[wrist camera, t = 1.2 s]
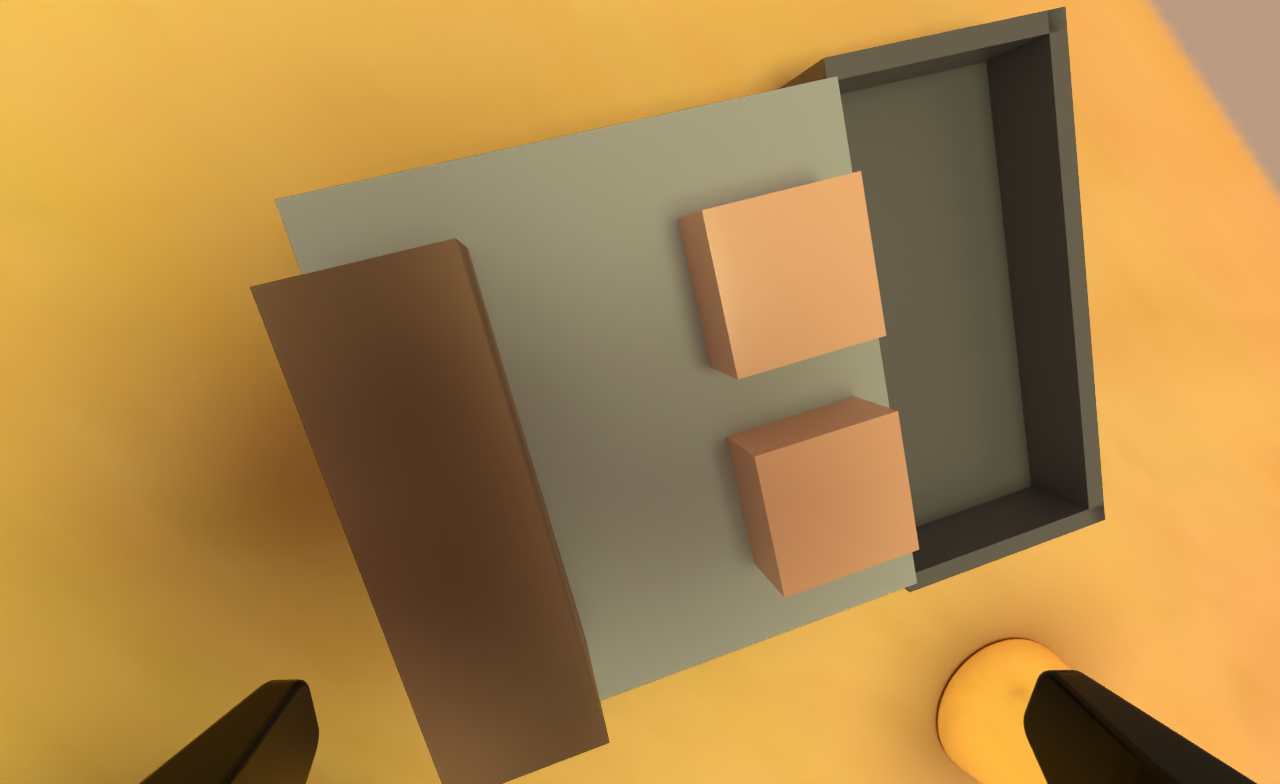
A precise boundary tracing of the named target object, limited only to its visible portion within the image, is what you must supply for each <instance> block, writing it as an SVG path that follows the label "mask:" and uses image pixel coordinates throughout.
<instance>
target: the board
mask: <svg viewBox="0 0 1280 784" xmlns="http://www.w3.org/2000/svg"><path fill="white" fill-rule="evenodd" d="M850 173H853V172H852V166H851V160H850V153H849V147H848V140H847V134H846V128H845V121H844V115H843V109H842V102H841V96H840V90H839V83H838V77H837V76H836V77H832V78H827V79H822V80H818V81H813V82H809V83H804V84H800V85H795V86H790V87H786V88H781V89H777V90H772V91H768V92H763V93H759V94H754V95H749V96H745V97H740V98H736V99H731V100H727V101H722V102H717V103H713V104H708V105H704V106H699V107H695V108H690V109H685V110H681V111H676V112H672V113H667V114H663V115H658V116H653V117H649V118H644V119H640V120H635V121H631V122H626V123H622V124H617V125H612V126H608V127H603V128H599V129H594V130H590V131H585V132H580V133H576V134H571V135H567V136H562V137H558V138H553V139H548V140H544V141H539V142H535V143H530V144H526V145H521V146H516V147H512V148H507V149H503V150H498V151H494V152H489V153H485V154H480V155H475V156H471V157H466V158H462V159H457V160H453V161H448V162H443V163H439V164H434V165H430V166H425V167H421V168H416V169H411V170H407V171H402V172H398V173H393V174H389V175H384V176H379V177H375V178H370V179H366V180H361V181H357V182H352V183H348V184H343V185H338V186H334V187H329V188H325V189H320V190H316V191H311V192H306V193H302V194H297V195H293V196H288V197H284V198H279V199H275V202H276V205H277V207H278V210H279V213H280V216H281V218H282V221H283V224H284V227H285V229H286V232H287V235H288V238H289V240H290V243H291V246H292V249H293V251H294V254H295V257H296V259H297V262H298V265H299V268H300V270H301V273H302V275H303V274H307V273H311V272H315V271H320V270H324V269H328V268H332V267H336V266H340V265H345V264H349V263H353V262H357V261H361V260H366V259H370V258H374V257H378V256H382V255H387V254H391V253H395V252H399V251H403V250H407V249H412V248H416V247H420V246H424V245H428V244H433V243H437V242H441V241H445V240H449V239H453V238H456V239H457V240H458V241H460V242H461V243H462V244H463V245H465V246H466V247H467V248H468V250H469V253H470V257H471V260H472V263H473V267H474V270H475V273H476V277H477V280H478V283H479V287H480V290H481V293H482V297H483V300H484V303H485V306H486V310H487V313H488V316H489V320H490V323H491V326H492V330H493V333H494V336H495V340H496V343H497V346H498V350H499V353H500V356H501V359H502V363H503V366H504V369H505V373H506V376H507V379H508V383H509V386H510V389H511V393H512V396H513V399H514V403H515V406H516V409H517V412H518V416H519V419H520V422H521V426H522V429H523V432H524V436H525V439H526V442H527V446H528V449H529V452H530V456H531V459H532V462H533V466H534V469H535V472H536V475H537V479H538V482H539V485H540V489H541V492H542V495H543V499H544V502H545V505H546V509H547V512H548V515H549V519H550V522H551V525H552V528H553V532H554V535H555V538H556V542H557V545H558V548H559V552H560V555H561V558H562V562H563V565H564V568H565V572H566V575H567V578H568V581H569V585H570V588H571V591H572V595H573V598H574V601H575V605H576V608H577V611H578V615H579V618H580V621H581V625H582V628H583V631H584V635H585V638H586V642H587V646H588V650H589V655H590V659H591V664H592V668H593V672H594V677H595V681H596V686H597V690H598V694H599V699H600V701H601V700H604V699H606V698H609V697H612V696H614V695H617V694H620V693H623V692H625V691H628V690H631V689H633V688H636V687H639V686H641V685H644V684H647V683H650V682H652V681H655V680H658V679H660V678H663V677H666V676H668V675H671V674H674V673H676V672H679V671H682V670H685V669H687V668H690V667H693V666H695V665H698V664H701V663H703V662H706V661H709V660H712V659H714V658H717V657H720V656H722V655H725V654H728V653H730V652H733V651H736V650H739V649H741V648H744V647H747V646H749V645H752V644H755V643H757V642H760V641H763V640H766V639H768V638H771V637H774V636H776V635H779V634H782V633H784V632H787V631H790V630H793V629H795V628H798V627H801V626H803V625H806V624H809V623H811V622H814V621H817V620H820V619H822V618H825V617H828V616H830V615H833V614H836V613H838V612H841V611H844V610H847V609H849V608H852V607H855V606H857V605H860V604H863V603H865V602H868V601H871V600H874V599H876V598H879V597H882V596H884V595H887V594H890V593H892V592H895V591H898V590H901V589H903V588H906V587H909V586H911V585H914V584H917V579H916V573H915V567H914V560H913V554H912V552H911V553H908V554H905V555H903V556H900V557H897V558H894V559H892V560H889V561H886V562H883V563H880V564H878V565H875V566H872V567H869V568H867V569H864V570H861V571H858V572H856V573H853V574H850V575H847V576H844V577H842V578H839V579H836V580H833V581H831V582H828V583H825V584H822V585H819V586H817V587H814V588H811V589H808V590H806V591H803V592H800V593H797V594H795V595H792V596H789V597H786V598H784V597H783V596H782V594H781V593H780V592H779V591H778V590H777V589H776V588H775V586H774V585H773V584H772V583H771V582H770V581H769V580H768V579H767V577H766V576H765V575H764V574H763V573H762V572H761V571H760V569H759V568H758V567H757V566H756V565H755V563H754V558H753V554H752V549H751V545H750V540H749V536H748V531H747V527H746V522H745V518H744V513H743V509H742V504H741V500H740V495H739V491H738V486H737V482H736V477H735V473H734V468H733V464H732V459H731V455H730V450H729V446H728V441H727V436H730V435H734V434H737V433H740V432H743V431H746V430H750V429H753V428H756V427H759V426H763V425H766V424H769V423H772V422H775V421H779V420H782V419H785V418H788V417H791V416H795V415H798V414H801V413H804V412H808V411H811V410H814V409H817V408H820V407H824V406H827V405H830V404H833V403H836V402H840V401H843V400H846V399H849V398H853V397H858V398H861V399H864V400H867V401H870V402H873V403H876V404H879V405H882V406H885V407H888V408H889V401H888V395H887V389H886V382H885V376H884V369H883V363H882V357H881V350H880V344H879V338H877V339H873V340H870V341H866V342H863V343H860V344H856V345H853V346H850V347H846V348H843V349H839V350H836V351H833V352H829V353H826V354H823V355H819V356H816V357H812V358H809V359H806V360H802V361H799V362H796V363H792V364H789V365H785V366H782V367H779V368H775V369H772V370H769V371H765V372H762V373H758V374H755V375H752V376H748V377H745V378H742V379H736V378H733V377H731V376H729V375H726V374H724V373H722V372H719V371H717V370H715V369H712V368H711V365H710V361H709V356H708V352H707V347H706V343H705V338H704V334H703V329H702V325H701V320H700V316H699V311H698V307H697V302H696V298H695V293H694V289H693V284H692V280H691V275H690V271H689V266H688V262H687V257H686V253H685V248H684V244H683V239H682V235H681V231H680V226H679V222H678V218H681V217H684V216H687V215H689V214H692V213H695V212H698V211H701V210H705V209H709V208H713V207H717V206H721V205H725V204H729V203H733V202H737V201H741V200H745V199H749V198H753V197H757V196H761V195H766V194H770V193H774V192H778V191H782V190H786V189H790V188H794V187H798V186H802V185H806V184H810V183H814V182H818V181H822V180H826V179H830V178H834V177H838V176H842V175H846V174H850Z"/></svg>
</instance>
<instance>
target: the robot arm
mask: <svg viewBox="0 0 1280 784" xmlns="http://www.w3.org/2000/svg"><path fill="white" fill-rule="evenodd" d="M1023 724H1024V730H1025V734H1026V737H1027V740H1028V742H1029V744H1030V746H1031V749H1032V751H1033V753H1034V755H1035V758H1036V760H1037V762H1038V764H1039V766H1040V769H1041V771H1042V773H1043V775H1044V778H1045V780H1046V782H1047V784H1257V783H1255V782H1254V781H1252V780H1251V779H1249V778H1247V777H1246V776H1244V775H1243V774H1241V773H1240V772H1238V771H1236V770H1235V769H1233V768H1232V767H1230V766H1228V765H1227V764H1225V763H1224V762H1222V761H1221V760H1219V759H1217V758H1216V757H1214V756H1213V755H1211V754H1210V753H1208V752H1206V751H1205V750H1203V749H1202V748H1200V747H1199V746H1197V745H1195V744H1194V743H1192V742H1191V741H1189V740H1187V739H1186V738H1184V737H1183V736H1181V735H1180V734H1178V733H1176V732H1175V731H1173V730H1172V729H1170V728H1169V727H1167V726H1165V725H1164V724H1162V723H1161V722H1159V721H1158V720H1156V719H1154V718H1153V717H1151V716H1150V715H1148V714H1146V713H1145V712H1143V711H1142V710H1140V709H1139V708H1137V707H1135V706H1134V705H1132V704H1131V703H1129V702H1128V701H1126V700H1124V699H1123V698H1121V697H1120V696H1118V695H1116V694H1115V693H1113V692H1112V691H1110V690H1109V689H1107V688H1105V687H1104V686H1102V685H1101V684H1099V683H1098V682H1096V681H1094V680H1093V679H1091V678H1090V677H1088V676H1086V675H1085V674H1083V673H1081V672H1079V671H1075V670H1047V671H1044V672H1042V673H1041V674H1040V675H1039V677H1038V678H1037V681H1036V683H1035V686H1034V689H1033V691H1032V694H1031V697H1030V699H1029V702H1028V705H1027V707H1026V710H1025V713H1024V718H1023ZM318 739H319V728H318V722H317V718H316V714H315V710H314V705H313V701H312V697H311V693H310V689H309V686H308V684H307V683H306V682H305V681H304V680H271V681H268V682H266V683H265V684H263V685H261V686H260V687H259V688H258V689H256V690H255V691H254V692H253V693H251V694H250V695H249V696H248V697H246V698H245V699H244V700H243V701H241V702H240V703H239V704H238V705H236V706H235V707H234V708H233V709H231V710H230V711H229V712H228V713H226V714H225V715H224V716H223V717H221V718H220V719H219V720H218V721H216V722H215V723H214V724H213V725H211V726H210V727H209V728H208V729H206V730H205V731H204V732H203V733H201V734H200V735H199V736H198V737H196V738H195V739H194V740H193V741H191V742H190V743H189V744H188V745H186V746H185V747H184V748H183V749H182V750H180V751H179V752H178V753H177V754H175V755H174V756H173V757H172V758H170V759H169V760H168V761H167V762H165V763H164V764H163V765H162V766H160V767H159V768H158V769H157V770H155V771H154V772H153V773H152V774H150V775H149V776H148V777H147V778H145V779H144V780H143V781H142V782H140V783H139V784H306V781H307V778H308V775H309V772H310V769H311V766H312V762H313V759H314V756H315V753H316V750H317V745H318Z"/></svg>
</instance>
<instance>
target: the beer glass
mask: <svg viewBox="0 0 1280 784" xmlns="http://www.w3.org/2000/svg"><path fill="white" fill-rule="evenodd" d="M1047 670H1071V669H1070V668H1069V667H1068V666H1067V665H1066V664H1065V663H1064V662H1063V661H1061V660H1060V659H1059V658H1058V657H1057V656H1056V655H1055V654H1054V653H1053V652H1052V651H1050V650H1049V649H1048V648H1046V647H1045V646H1043V645H1041V644H1039V643H1036V642H1034V641H1031V640H1026V639H1009V640H1004V641H1000V642H997V643H994V644H991V645H989V646H987V647H985V648H983V649H982V650H980V651H978V652H977V653H975V654H974V655H973V656H971V657H970V658H969V659H968V660H967V661H966V662H965V663H964V664H963V665H962V666H961V667H960V668H959V669H958V670H957V672H956V673H955V674H954V676H953V677H952V678H951V680H950V682H949V683H948V685H947V687H946V689H945V691H944V694H943V696H942V699H941V702H940V706H939V712H938V734H939V738H940V741H941V744H942V746H943V748H944V750H945V752H946V753H947V755H948V756H949V757H950V759H951V760H952V761H953V762H954V763H955V764H957V765H958V766H959V767H960V768H961V769H963V770H964V771H965V772H966V773H968V774H969V775H970V776H972V777H973V778H974V779H976V780H977V781H979V782H980V783H981V784H1047V782H1046V780H1045V778H1044V775H1043V773H1042V771H1041V769H1040V766H1039V764H1038V762H1037V760H1036V758H1035V755H1034V753H1033V751H1032V749H1031V746H1030V744H1029V742H1028V740H1027V737H1026V734H1025V730H1024V724H1023V718H1024V713H1025V710H1026V707H1027V705H1028V702H1029V699H1030V697H1031V694H1032V691H1033V689H1034V686H1035V683H1036V681H1037V678H1038V677H1039V675H1040V674H1041V673H1042V672H1044V671H1047Z"/></svg>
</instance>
